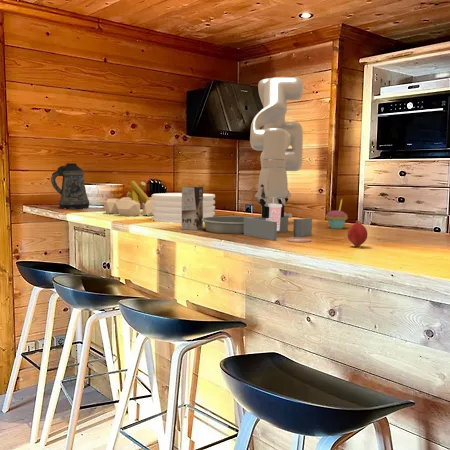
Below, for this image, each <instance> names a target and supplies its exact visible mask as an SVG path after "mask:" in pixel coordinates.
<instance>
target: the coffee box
mask: <svg viewBox="0 0 450 450" xmlns="http://www.w3.org/2000/svg"><path fill="white" fill-rule="evenodd" d="M181 193H182V223H181V230H187V231H188V230H191V231H199V230H200V229H203V228H204V222H203V221H202V218H203V194H204V186H182V187H181Z"/></svg>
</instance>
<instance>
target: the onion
mask: <svg viewBox="0 0 450 450" xmlns="http://www.w3.org/2000/svg"><path fill="white" fill-rule="evenodd" d="M347 238H348V240H349V242H351V244H353V246H355V247H356V248H357V247H358V248H359V247H361V246H362V245H363V244H364V243H365V242H366V241H367V239H368V230H367V228H366V226H364V225H363V224H362V223H361V221H360V220H356V221H355V223H353V224H352V225H350V227H349V229H348V231H347Z"/></svg>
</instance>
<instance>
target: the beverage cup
mask: <svg viewBox="0 0 450 450" xmlns="http://www.w3.org/2000/svg"><path fill="white" fill-rule="evenodd" d="M268 206H269V218H266V220H267V221H275V222H277V231H279V230H280V217H281V207H282V204H274V198H273V203H271V204H268Z"/></svg>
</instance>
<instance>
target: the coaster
mask: <svg viewBox="0 0 450 450" xmlns="http://www.w3.org/2000/svg"><path fill="white" fill-rule="evenodd" d="M285 241H287V242H289V241H290V243H311V241H312V238H310V237H305V236H304V237H293V236H292V237H291V236H290V237H286V238H285Z"/></svg>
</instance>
